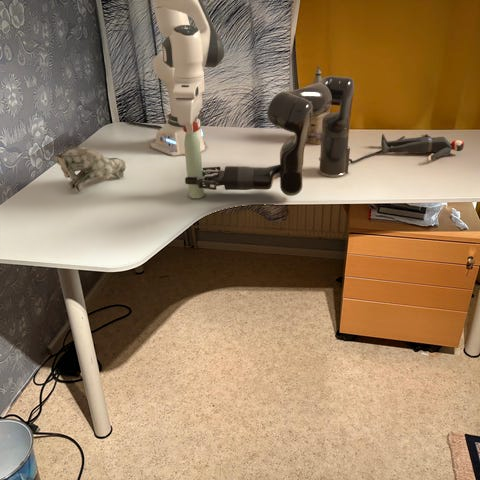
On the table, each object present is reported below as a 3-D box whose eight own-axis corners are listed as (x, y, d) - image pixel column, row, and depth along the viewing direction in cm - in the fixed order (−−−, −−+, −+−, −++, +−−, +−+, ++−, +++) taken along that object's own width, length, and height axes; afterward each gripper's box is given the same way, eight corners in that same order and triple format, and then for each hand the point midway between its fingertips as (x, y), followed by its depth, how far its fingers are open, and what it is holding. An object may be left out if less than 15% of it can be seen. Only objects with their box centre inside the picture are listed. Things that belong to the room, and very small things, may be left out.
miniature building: (320, 132, 228) (325, 59, 214) (338, 142, 217) (344, 66, 203) (293, 137, 224) (296, 63, 209) (310, 147, 213) (314, 69, 198)
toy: (381, 127, 217) (459, 127, 211) (380, 142, 220) (457, 142, 214) (382, 148, 195) (470, 149, 189) (381, 165, 198) (468, 166, 192)
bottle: (186, 194, 175) (179, 125, 164) (199, 191, 178) (193, 122, 166) (193, 199, 172) (187, 129, 161) (206, 195, 174) (201, 126, 163)
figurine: (92, 206, 176) (137, 172, 185) (60, 158, 168) (108, 124, 176) (80, 204, 184) (124, 171, 193) (49, 157, 175) (96, 125, 184)
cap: (201, 128, 165) (200, 122, 164) (194, 133, 161) (194, 126, 161) (187, 127, 167) (187, 121, 166) (180, 131, 163) (180, 125, 162)
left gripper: (186, 77, 167) (188, 120, 173) (171, 93, 149) (174, 141, 156) (206, 77, 166) (207, 121, 173) (193, 94, 148) (196, 142, 155)
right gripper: (241, 159, 175) (189, 158, 176) (237, 175, 163) (182, 175, 164) (241, 180, 179) (190, 179, 180) (238, 198, 166) (183, 197, 167)
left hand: (192, 131), depth 164 cm, fingers closed on cap, 4 cm apart
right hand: (187, 177), depth 172 cm, fingers closed on bottle, 5 cm apart
